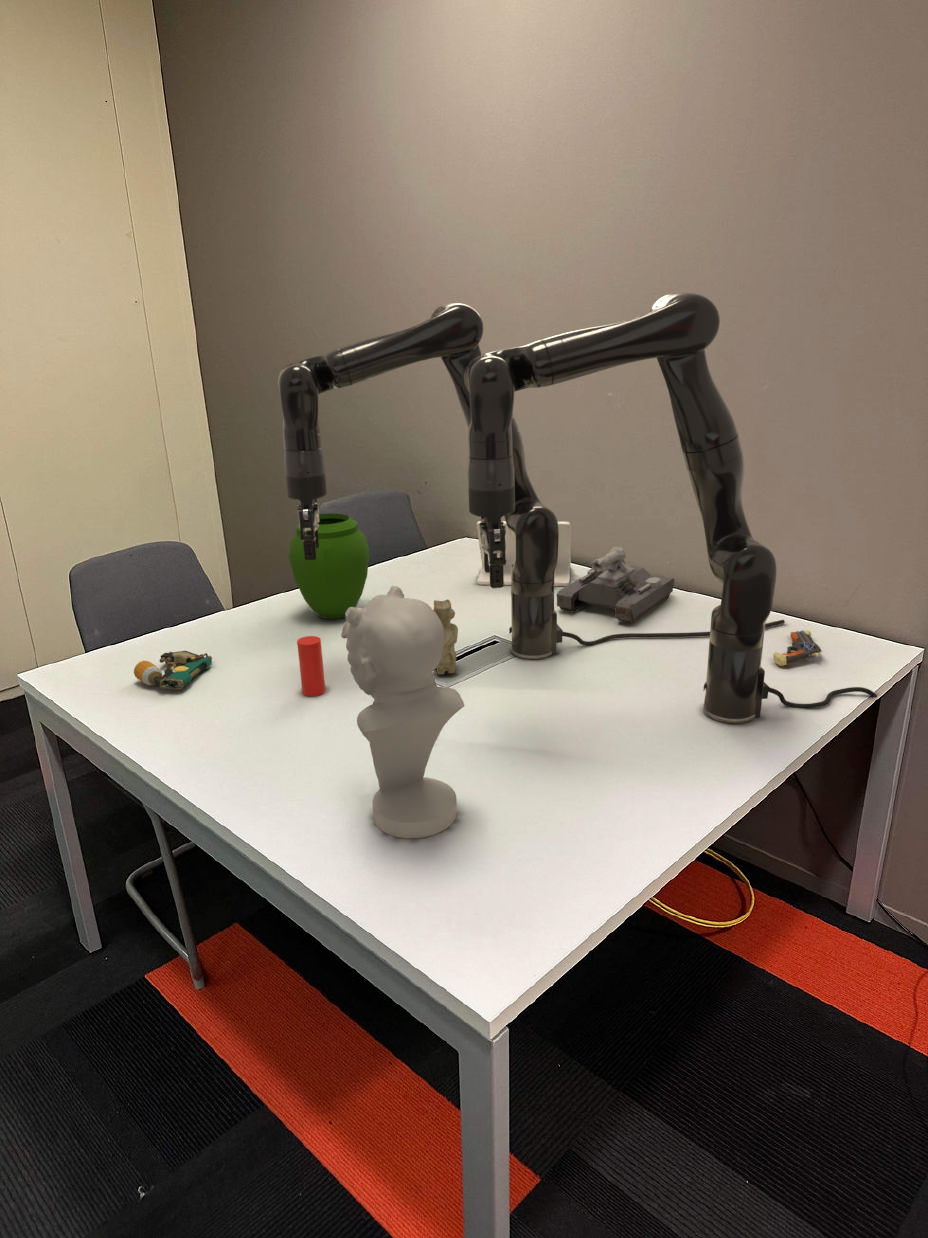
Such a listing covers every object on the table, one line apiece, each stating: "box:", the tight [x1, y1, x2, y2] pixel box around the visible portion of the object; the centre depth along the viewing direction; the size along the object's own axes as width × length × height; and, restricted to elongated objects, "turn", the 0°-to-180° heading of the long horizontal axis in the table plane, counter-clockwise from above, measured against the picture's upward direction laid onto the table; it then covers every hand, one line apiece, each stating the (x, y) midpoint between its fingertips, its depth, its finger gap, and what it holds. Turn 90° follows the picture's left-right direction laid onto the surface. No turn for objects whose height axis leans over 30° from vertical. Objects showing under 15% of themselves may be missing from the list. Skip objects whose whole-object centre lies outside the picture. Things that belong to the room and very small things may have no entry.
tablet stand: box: [476, 520, 572, 587], centre depth 236 cm, size 18×25×17 cm
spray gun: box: [133, 650, 213, 690], centre depth 180 cm, size 4×17×15 cm
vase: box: [288, 512, 370, 620], centre depth 209 cm, size 20×20×24 cm
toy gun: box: [772, 630, 823, 667], centre depth 183 cm, size 3×19×10 cm
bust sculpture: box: [340, 585, 465, 839], centre depth 128 cm, size 16×24×35 cm, turn 28°
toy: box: [556, 546, 676, 624], centre depth 212 cm, size 25×20×15 cm
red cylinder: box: [296, 635, 326, 697], centre depth 170 cm, size 5×5×11 cm
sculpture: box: [433, 599, 459, 675], centre depth 177 cm, size 6×7×15 cm
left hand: (312, 553), depth 169 cm, fingers open, 8 cm apart
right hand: (493, 579), depth 144 cm, fingers open, 8 cm apart
